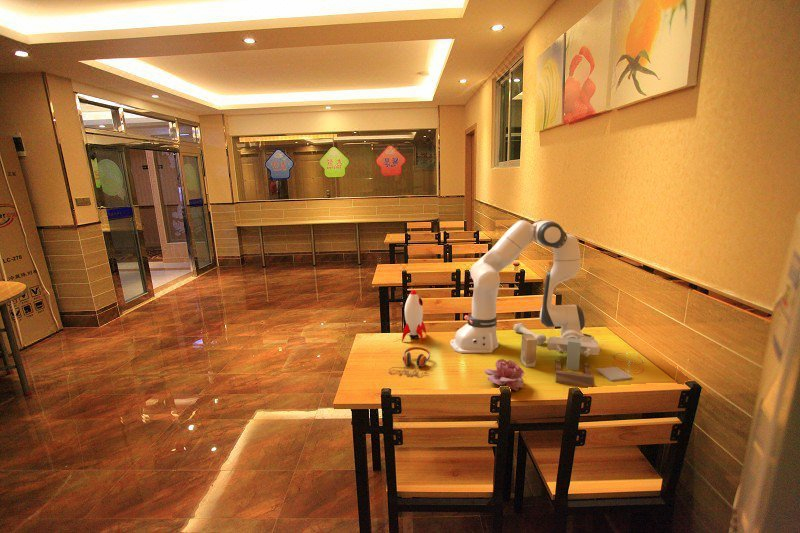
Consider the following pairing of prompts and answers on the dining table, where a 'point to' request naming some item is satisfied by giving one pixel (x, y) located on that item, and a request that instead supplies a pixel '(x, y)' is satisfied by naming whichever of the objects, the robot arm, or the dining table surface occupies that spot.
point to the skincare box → (528, 350)
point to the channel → (574, 376)
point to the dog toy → (521, 329)
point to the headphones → (420, 360)
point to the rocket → (414, 316)
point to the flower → (506, 374)
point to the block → (573, 354)
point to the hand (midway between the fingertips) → (573, 353)
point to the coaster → (613, 373)
